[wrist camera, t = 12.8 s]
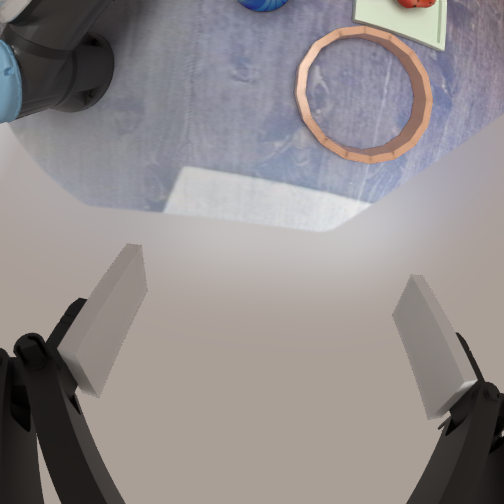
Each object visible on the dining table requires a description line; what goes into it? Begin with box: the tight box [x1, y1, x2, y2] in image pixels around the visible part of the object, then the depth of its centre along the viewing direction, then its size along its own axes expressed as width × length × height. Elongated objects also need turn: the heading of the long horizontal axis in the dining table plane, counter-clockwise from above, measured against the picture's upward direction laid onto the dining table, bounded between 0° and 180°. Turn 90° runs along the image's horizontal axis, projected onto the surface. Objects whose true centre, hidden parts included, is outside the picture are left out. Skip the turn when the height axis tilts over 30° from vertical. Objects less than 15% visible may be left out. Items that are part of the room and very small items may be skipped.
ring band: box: [294, 26, 433, 164], centre depth 38 cm, size 21×21×4 cm
